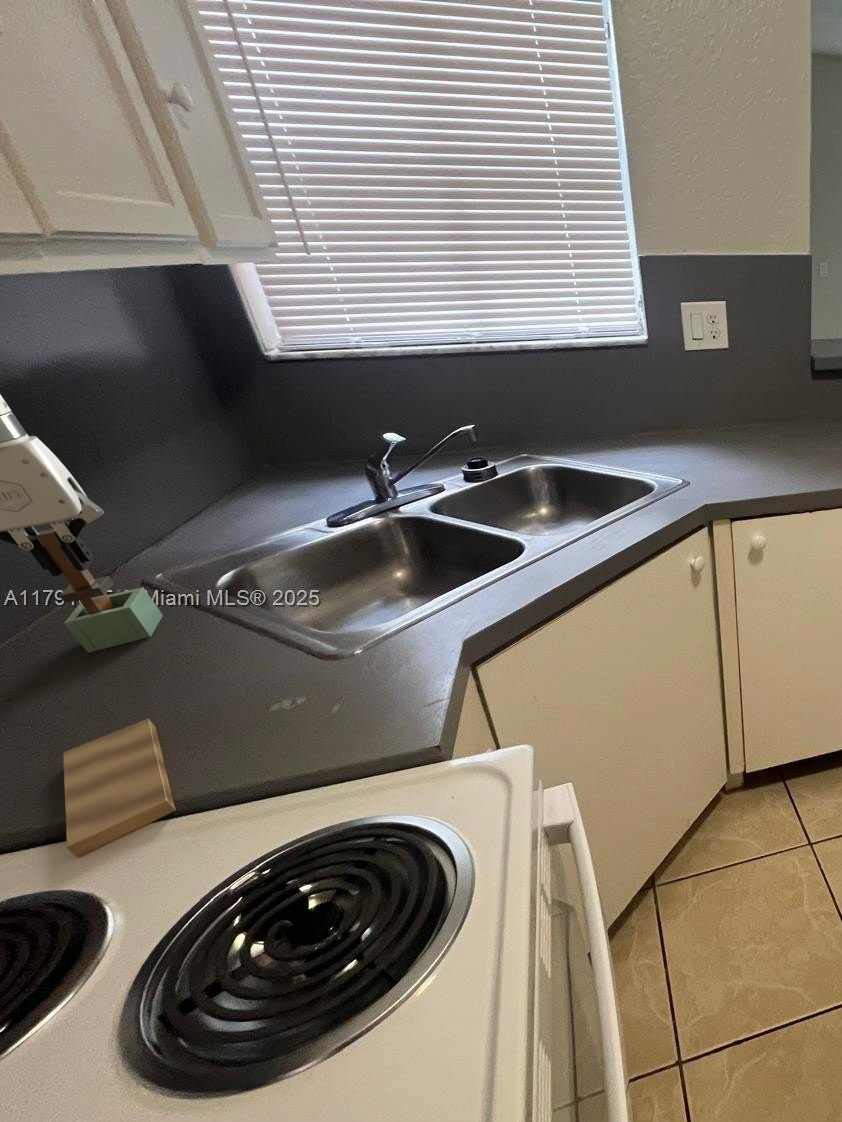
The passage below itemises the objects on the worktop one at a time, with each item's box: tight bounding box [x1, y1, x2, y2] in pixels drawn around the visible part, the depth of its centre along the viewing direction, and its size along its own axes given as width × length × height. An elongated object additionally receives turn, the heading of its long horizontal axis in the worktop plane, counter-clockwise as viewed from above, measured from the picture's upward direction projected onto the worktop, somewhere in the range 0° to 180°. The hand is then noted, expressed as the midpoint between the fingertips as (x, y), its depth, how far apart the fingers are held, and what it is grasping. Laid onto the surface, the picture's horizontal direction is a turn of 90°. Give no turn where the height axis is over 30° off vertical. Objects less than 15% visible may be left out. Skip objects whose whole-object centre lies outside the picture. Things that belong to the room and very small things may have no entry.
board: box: [62, 718, 176, 858], centre depth 64 cm, size 18×7×2 cm, turn 47°
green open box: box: [64, 586, 164, 654], centre depth 89 cm, size 7×7×5 cm
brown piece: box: [35, 528, 116, 614], centre depth 85 cm, size 4×4×13 cm
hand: (72, 568), depth 84 cm, fingers closed on brown piece
